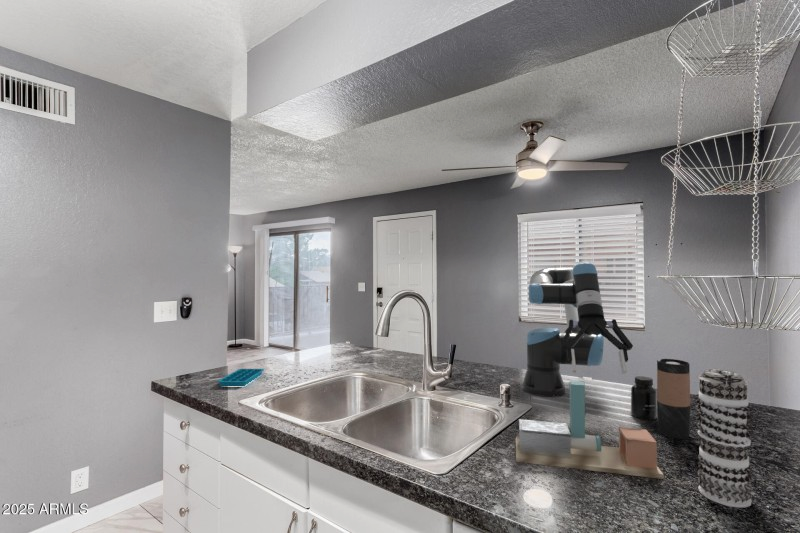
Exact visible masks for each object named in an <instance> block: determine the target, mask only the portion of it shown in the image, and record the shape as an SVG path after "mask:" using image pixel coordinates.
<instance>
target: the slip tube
mask: <svg viewBox="0 0 800 533" xmlns="http://www.w3.org/2000/svg"><path fill="white" fill-rule="evenodd" d="M568 383H569V386H568V387H569V388H568V389H569V432H570V434H571V448H573V449H582V450H592V451H599V452H601V446H602V439H601V436H600V435H589V434H586V407H585V406H586V405H585V404H586V399H585V395H586V394H585V393H586V392H585V388H586V386H585V385H586V384H584V381H577V380H575V381H574V380H569V382H568Z"/></svg>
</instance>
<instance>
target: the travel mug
mask: <svg viewBox="0 0 800 533" xmlns="http://www.w3.org/2000/svg"><path fill="white" fill-rule="evenodd" d="M690 376H691V375H690V363H689V362H688V361H685V360H681V359H674V358H673V359H672V358H662V359H660V360H656V391H657V422H658V423H657V426H658V427H657V428H658V429H657V430H658V432H659V433H660V434H661V435H663V436H666V437H668V438H672V439H673V438H674V439H685V440H686V439H688V438H690V434H691V432H690V431H691V430H690V429H691V380H690V379H691V378H690Z"/></svg>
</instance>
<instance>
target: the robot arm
mask: <svg viewBox="0 0 800 533" xmlns="http://www.w3.org/2000/svg"><path fill="white" fill-rule="evenodd" d="M528 302H529V303H530V304H535V305H564V311H565V317H566V318H565V319H566V326H567V327H566V329H565V330H564V332H562V331H560V329H559V328H558V327H543V328H536V329H531V330H530V331H528V333H527V335H526V371H525V374H524V377H523V380H522V388H521V389H522V391H524V392H525V393H527V394H530V395H534V396H539V397H548V398H551V397H552V398H553V397H561V396H564V395H565V394H566V387H565V384H564V380H563V378H562V374H561V372H560V371H561V370H560V368H561V367H560V366H561V365H569V366H570V365H571V369H572V373H576V371H577V366H587V367H596V366H597V367H598V366H600V365H601V364H602V362H603V357H604V346H605V345H604V343H605V341H604V340H605V339H607V340H608V341H609V342H610V344H612V345H613V346H615V348H617V349H618V357H619V363H620V368H621V369H620V370H621V374H623V375H625V374H626V373H627V372H628V370H627V365H626V363H628V362H629V356H628V351H631V350H632V348H633V347H634V345H633V344H632V342H631V341H630V340H629V338H628V337H627V336H626V335H625V333H624V331H623V330H622V329H621V328H620V327H619V325H618V322H617V320H616V319H614V318H613V319H611V320H606V319H605V314H604V313H605V312H604V308H603V302H602V298H601V290H600V284H599V277H598V271H597V267H596V266H595V264H594V263H591V262H581V263H577V264H575V265H574V266H573V267H545V268H542V269H539V270H537V271H536V272H534V273H533V274H532V275H531V277H530V280H529V284H528ZM607 326H608V327H609V328H610V329H611V330H612V331H613V332H614V334H615V335H616V336H615V335H613V333H611V332H610V331H609V329H607ZM604 338H605V339H604Z"/></svg>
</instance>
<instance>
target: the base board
mask: <svg viewBox="0 0 800 533" xmlns="http://www.w3.org/2000/svg"><path fill="white" fill-rule="evenodd" d="M515 461H516V463H524V464H526V463H527V464H534V465H540V466H541V465H543V466H551V467H559V468H568V469H569V468H570V469H575V470H577V469H578V470H582V471H583V470H584V471H585V470H586V471H593V472H599V473H608V474H617V475H626V476H636V477H644V478H650V479H651V478H653V479H660V480H664V473H663V472H662V471H661V469H660V467H658V465H657V469H654V468H645V467H636V466H627V464H626V463H625V461H624V459H623V457H622V456H621V454H620V452H619V446H618V447H617V446H607V445H601V452H599V451H592V450H582V449H573V448H571V459H567V458H558V457H549V456H540V455H531V454H523V453H520V446H519V436H515Z"/></svg>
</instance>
